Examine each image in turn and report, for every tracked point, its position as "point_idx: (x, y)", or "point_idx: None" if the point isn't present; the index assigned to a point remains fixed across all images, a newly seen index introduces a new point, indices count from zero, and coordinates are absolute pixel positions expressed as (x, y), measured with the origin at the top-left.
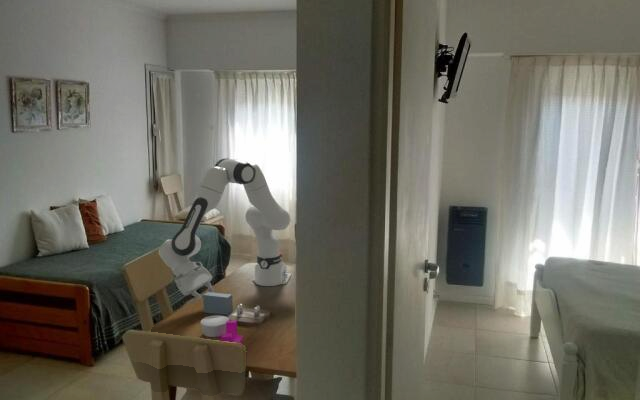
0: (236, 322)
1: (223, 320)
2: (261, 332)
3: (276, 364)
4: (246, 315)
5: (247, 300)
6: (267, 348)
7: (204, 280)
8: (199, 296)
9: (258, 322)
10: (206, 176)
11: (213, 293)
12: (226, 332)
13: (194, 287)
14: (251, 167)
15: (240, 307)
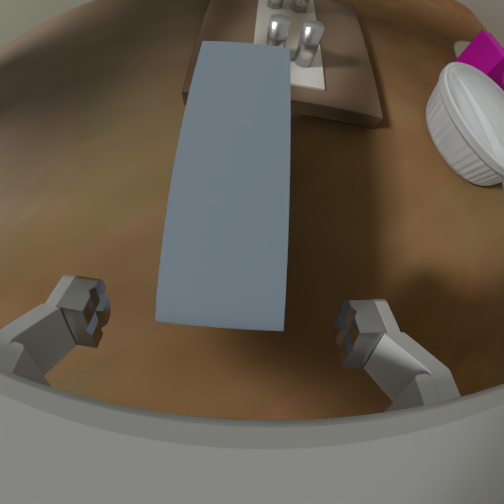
0: (482, 34)
1: (476, 80)
2: (380, 12)
3: (470, 16)
4: (300, 34)
5: (32, 136)
6: (441, 15)
7: (42, 425)
8: (388, 322)
9: (344, 5)
10: None
11: (200, 214)
12: (500, 76)
13: (461, 414)
14: None
15: (287, 32)
